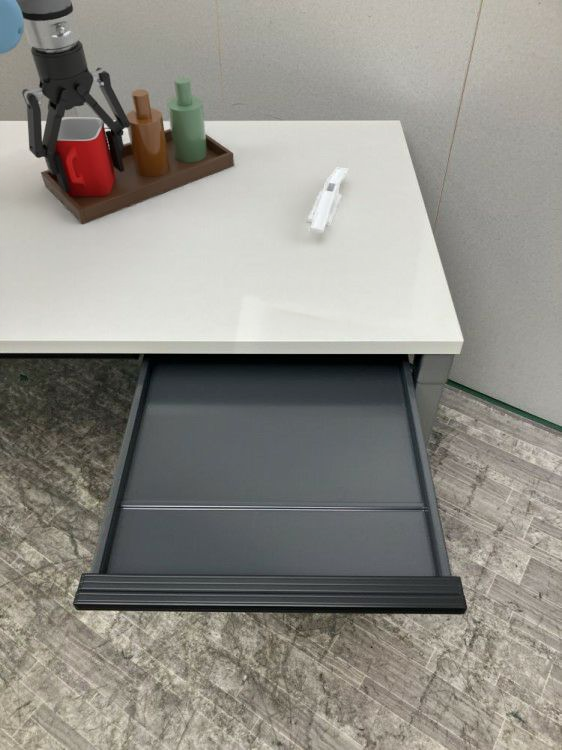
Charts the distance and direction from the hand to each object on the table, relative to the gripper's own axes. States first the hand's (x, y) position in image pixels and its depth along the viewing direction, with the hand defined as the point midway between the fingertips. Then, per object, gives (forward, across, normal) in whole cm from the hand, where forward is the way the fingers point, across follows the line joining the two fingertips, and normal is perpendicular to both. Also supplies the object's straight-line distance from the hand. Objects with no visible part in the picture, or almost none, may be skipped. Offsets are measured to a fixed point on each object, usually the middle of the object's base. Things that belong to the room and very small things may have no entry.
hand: (92, 178), depth 105 cm
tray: (+3, +9, 0) cm, 10 cm away
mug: (+2, -1, 0) cm, 3 cm away
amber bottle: (+2, +12, 0) cm, 12 cm away
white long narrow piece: (+3, +29, -30) cm, 42 cm away
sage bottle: (+2, +20, 0) cm, 20 cm away
